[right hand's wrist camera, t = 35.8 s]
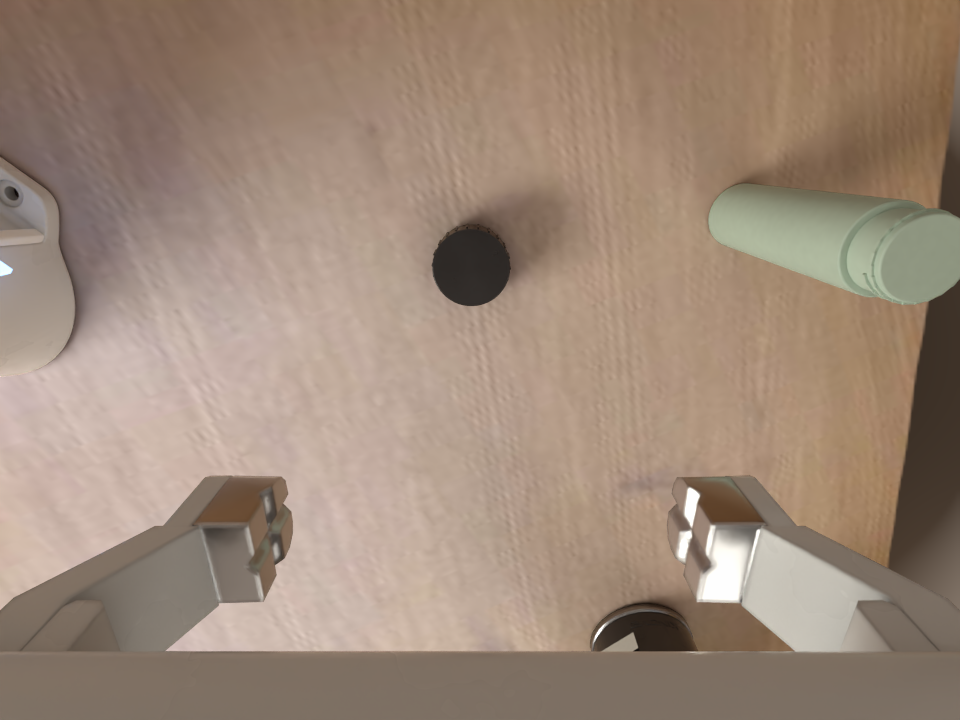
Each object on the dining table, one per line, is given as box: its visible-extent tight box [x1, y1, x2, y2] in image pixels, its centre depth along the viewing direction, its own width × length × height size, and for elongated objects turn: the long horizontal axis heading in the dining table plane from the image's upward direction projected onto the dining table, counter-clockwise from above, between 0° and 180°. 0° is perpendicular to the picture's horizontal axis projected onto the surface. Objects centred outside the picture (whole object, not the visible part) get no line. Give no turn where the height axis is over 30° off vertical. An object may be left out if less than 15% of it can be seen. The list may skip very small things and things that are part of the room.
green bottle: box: [708, 183, 960, 305], centre depth 27 cm, size 4×4×15 cm
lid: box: [432, 224, 511, 306], centre depth 34 cm, size 5×5×2 cm
